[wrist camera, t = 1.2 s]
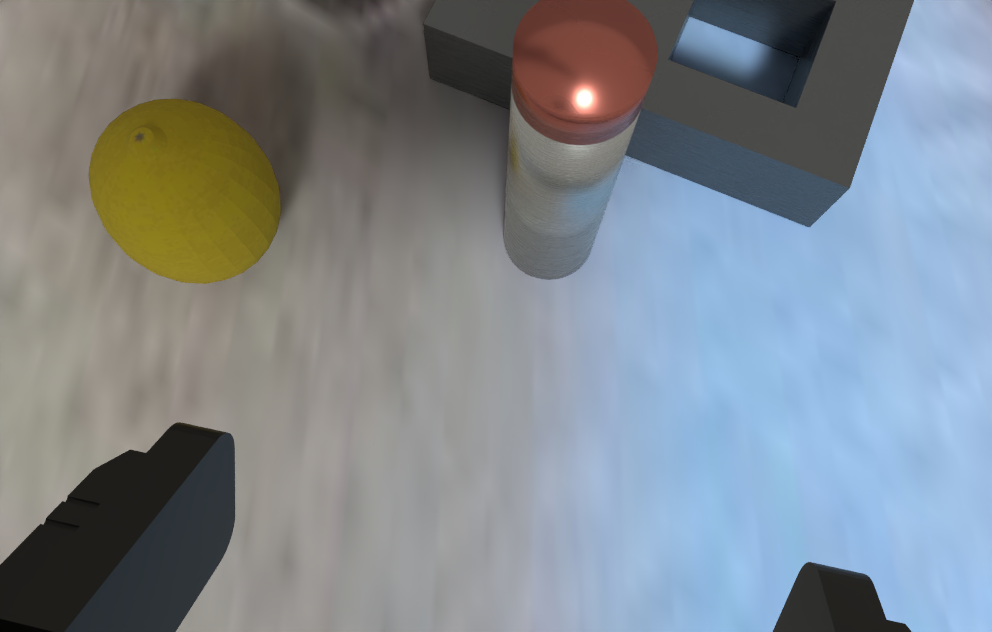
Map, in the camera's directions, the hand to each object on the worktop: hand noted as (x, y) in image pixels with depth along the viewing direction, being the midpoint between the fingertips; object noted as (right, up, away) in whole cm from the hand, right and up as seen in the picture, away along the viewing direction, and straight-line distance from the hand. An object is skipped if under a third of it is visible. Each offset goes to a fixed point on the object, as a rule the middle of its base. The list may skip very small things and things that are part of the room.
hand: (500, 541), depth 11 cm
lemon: (-10, +6, +19) cm, 22 cm away
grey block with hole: (+6, +14, +21) cm, 26 cm away
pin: (+2, +6, +19) cm, 20 cm away
